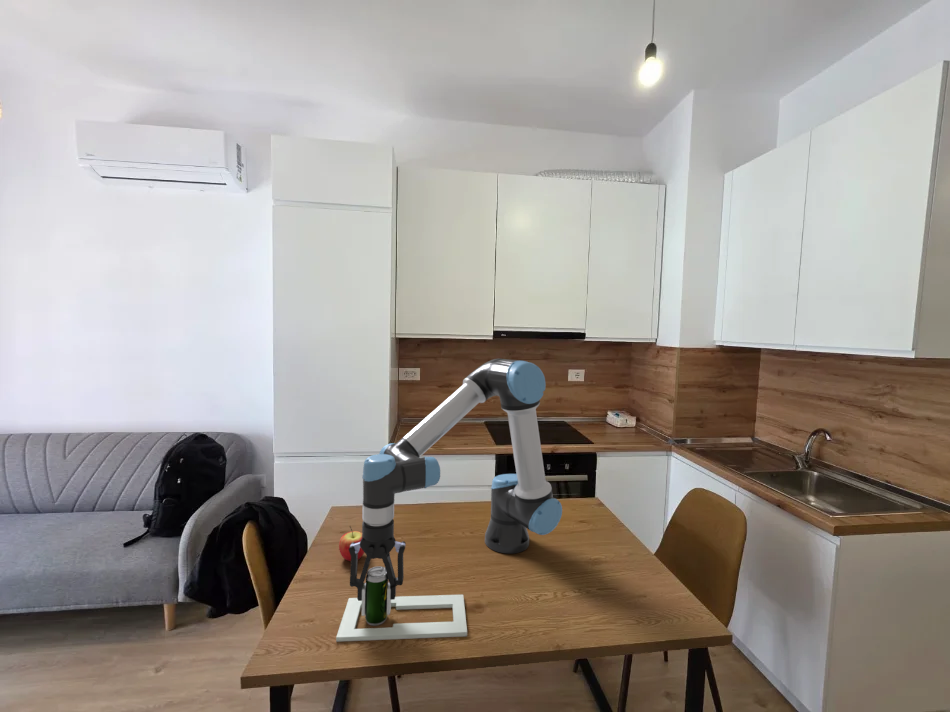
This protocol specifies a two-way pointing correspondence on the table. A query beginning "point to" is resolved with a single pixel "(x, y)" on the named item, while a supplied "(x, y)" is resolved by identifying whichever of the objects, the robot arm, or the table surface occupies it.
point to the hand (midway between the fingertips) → (376, 611)
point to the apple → (346, 542)
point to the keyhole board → (407, 629)
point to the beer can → (376, 596)
